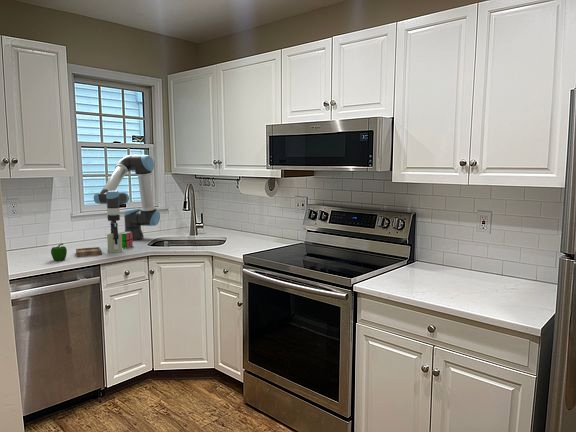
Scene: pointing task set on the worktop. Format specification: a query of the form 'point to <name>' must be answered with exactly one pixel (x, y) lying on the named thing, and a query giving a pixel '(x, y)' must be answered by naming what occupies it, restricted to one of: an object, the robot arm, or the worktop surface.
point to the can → (111, 243)
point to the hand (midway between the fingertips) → (115, 247)
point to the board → (88, 251)
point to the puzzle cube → (126, 239)
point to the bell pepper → (59, 252)
